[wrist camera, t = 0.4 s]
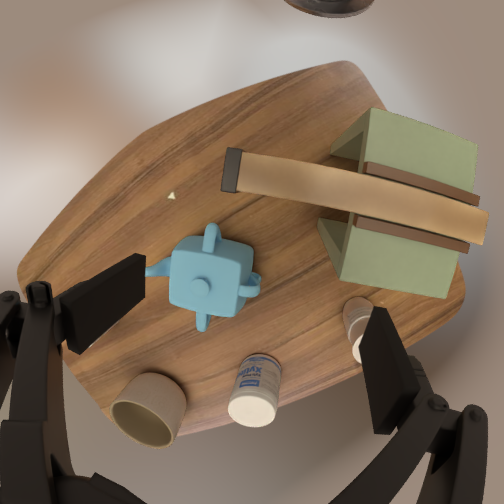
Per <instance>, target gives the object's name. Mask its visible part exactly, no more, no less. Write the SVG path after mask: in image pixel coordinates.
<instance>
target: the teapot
mask: <svg viewBox="0 0 504 504" xmlns="http://www.w3.org/2000/svg"><path fill="white" fill-rule="evenodd" d="M253 256H254V250H253V248H252V247H251V246H248V245H246V244H243V243H239V242H235V241H231V240H227V239H223V238H221V232H220V228H219V226H218V225H217V224H215V223H209V224H208V225H207V227H206V229H205V233H204V236H187V237H185V238H184V239H182V240H181V241H180V242H179V243H178V244H177V245H176V247H175V248H174V250H173V251H172V256H170V257H167V258H165V259H163V260H161V261H160V262H158V263H157V264H155V265H153V266H150V267H146V270H145V277H153V276H168V277H170V283H169V301H170V303H172V304H174V305H176V306H179V307H182V308H185V309H189V310H192V311H196V327H197V330H198V331H200V332H204V331H206V329H207V327H208V325H209V322H210V319H211V315H216V316H222V317H233V316H235V315H236V314H237V313H238V312H239V311H240V310H241V309H242V307H243V306H244V304H245V302H246V299H247V297H255V296H257V295H258V294H259V292H260V282H261V276H260V275H259V274H257V273H254V272H252V266H253ZM249 285H250V286H249Z"/></svg>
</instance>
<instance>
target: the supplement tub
mask: <svg viewBox="0 0 504 504" xmlns="http://www.w3.org/2000/svg"><path fill="white" fill-rule="evenodd" d="M280 380H281V367H280V365H279V363H278V362H277V361H276V360H275V359H274V358H272V357H270V356H267V355H263V354H255V355H251V356H249V357H247V358H246V359H245V360H244V361H243V362H242V364H241V366H240V369H239V372H238V375H237V378H236V381H235V385H234V388H233V391H232V394H231V397H230V400H229V405H228V412H229V415H230V416H231V417H232V419H233V420H235V421H236V422H238V423H239V424H241V425H244V426H249V427H262V426H265V425H267V424H269V423H270V422H272V420H273V419H274V417H275V414H276V410H277V405H278V397H279V389H280Z"/></svg>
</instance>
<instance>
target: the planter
mask: <svg viewBox="0 0 504 504" xmlns="http://www.w3.org/2000/svg"><path fill="white" fill-rule="evenodd" d="M186 407H187V403H186V398H185V395H184V393H183V391H182V390H181V388H180V387H179V386H178V385H177V384H176V383H175V382H174V381H173V380H171V379H170V378H168V377H166V376H164V375H161V374H158V373H143V374H140V375H138V376H136V377H135V378H134V379H133V380H131V381H130V382H129V383H128V384H127V386H126V387H125V388H124V389H123V390H122V391H121V393H120V394H119V395H118V396H117V397H116V398H115V400H114V401H113V402H112V403H111V405H110V408H109V412H110V416H111V418H112V420H113V422H114V424H115V425H116V426H117V427H118V429H119V430H120V431H121V432H122V433H124V434H125V435H126V436H127V437H129V438H130V439H132V440H133V441H135V442H137V443H139V444H141V445H144V446H147V447H150V448H156V449H162V448H167V447H169V446H170V445H172V443H173V442H174V440H175V437H176V435H177V433H178V430H179V428H180V426H181V424H182V421H183V418H184V416H185V412H186Z"/></svg>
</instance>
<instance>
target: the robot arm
mask: <svg viewBox="0 0 504 504" xmlns="http://www.w3.org/2000/svg"><path fill="white" fill-rule="evenodd" d="M327 1H340V0H327ZM145 270H146V256H145V255H141V254H137V253H134V254H132V255H131V256H129V257H127V258H125V259H124V260H122V261H120V262H118V263H117V264H115V265H113V266H111V267H110V268H108V269H106V270H105V271H103V272H101V273H99V274H98V275H96V276H94V277H93V278H91V279H89V280H86V281H83V282H80V283H78V284H76V285H74V286H73V287H71V288H69V289H68V290H67V291H64V292H63V293H61V294H59V295H58V296H56V297H54V298H53V296H52V289H51V284H50V283H49V282H46V281H35V282H32V283H30V284H28V285H27V286H26V293H27V299H28V303H24V302H21V301H20V296H19V293H17V292H15V291H5V292H3V293H1V294H0V409H1V406H2V404H3V401H4V399H5V396H6V394H7V391H8V389H9V386H10V384H11V382H12V379H13V382H12V390H11V400H10V411H9V420H3V421H2V422H1V428H0V484H1V487H0V504H147V503H145V502H144V501H142V500H141V499H140V498H138V497H137V496H135V495H134V494H133V493H131V492H130V491H129V490H127V489H126V488H125V487H123V486H121V485H119V484H117V483H115V482H113V481H111V480H109V479H106V478H105V477H103V476H101V475H99V474H98V473H96V472H95V473H94V475H93V476H92V477H91V478H89V477H85V476H77V475H75V473H74V471H73V468H72V464H71V459H70V453H69V447H68V440H67V431H66V422H65V411H64V397H63V371H62V370H63V369H62V368H63V367H62V353H63V349H62V344H61V343H62V342H63V341H64V340H65V339H66V341H67V346H68V349H69V350H71V351H73V352H75V353H77V354H79V355H81V354H82V353H83V352H84V351H85V350H86V349H87V348H88V347H89V346H90V345H92V344H93V343H94V342H95V341H96V340H97V339H98V338H99V337H101V336H102V335H103V334H104V333H105V332H106V331H107V330H108V329H109V328H111V327H112V326H113V325H114V324H115V323H116V322H117V321H119V320H120V319H121V318H122V317H123V316H124V315H125V314H127V313H128V312H129V311H130V310H131V309H132V308H133V307H135V306H136V305H137V304H138V303H139V302H140V301H141V300H143V299H144V298H145ZM358 349H359V353H360V358H361V363H362V368H363V372H364V377H365V383H366V388H367V393H368V399H369V405H370V411H371V417H372V423H373V429H374V434H384V435H390V434H391V433H392V432H393V430H394V429H395V427H396V426H397V429H398V432H397V433H396V434H395V436H394V437H393V438H392V439H391V440H390V441H389V443H388V444H387V445H386V446H385V447H384V448H383V450H382V451H381V452H380V453H379V454H378V455H377V456H376V457H375V458H374V460H373V461H372V462H371V463H370V464H369V465H368V466H367V467H366V468H365V469H364V470H363V471H362V472H361V473H360V474H359V475H358V476H357V477H356V478H355V479H354V480H353V481H352V482H351V483H350V484H349V485H348V486H347V487H346V488H345V489H344V490H343V491H342V492H341V493H340V494H339V495H338V496H336V497H335V498H334V499H333V500H332V501H331V502H330V503H328V504H389V503H390V502H391V500H392V499H393V498H394V496H395V495H396V494H397V493H398V491H399V490H400V489H401V488H402V486H403V485H404V483H405V482H406V481H407V479H408V478H409V476H410V475H411V474H412V472H413V471H414V469H415V468H416V466H417V465H418V463H419V462H420V460H421V459H422V457H423V455H424V454H425V452H429V453H431V457H430V461H429V465H428V469H427V472H426V476H425V479H424V482H423V486H422V489H421V492H420V495H419V497H418V500H417V503H416V504H482V500H483V494H484V486H485V477H486V466H487V448H488V418H487V414H486V413H485V411H484V410H483V409H482V408H481V407H479V406H477V405H473V404H471V405H467V406H466V407H465V408H464V410H463V411H462V412H459V411H455V410H452V409H449V405H448V403H447V401H446V400H445V399H444V398H443V397H441V396H440V395H437V394H434V392H433V390H432V388H431V385H430V383H429V381H428V378H427V377H426V374H425V372H424V371H423V370H424V369H423V367H422V365H421V363H420V362H419V361H418V360H417V359H416V358H415V357H414V356H409V355H407V353H406V350H405V348H404V346H403V344H402V341H401V339H400V337H399V335H398V332H397V330H396V328H395V326H394V324H393V322H392V319H391V317H390V315H389V313H388V311H387V309H386V308H382V307H377V306H374V307H373V310H372V312H371V315H370V318H369V321H368V323H367V326H366V329H365V331H364V334H363V336H362V339H361V341H360V344H359V346H358Z"/></svg>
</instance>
